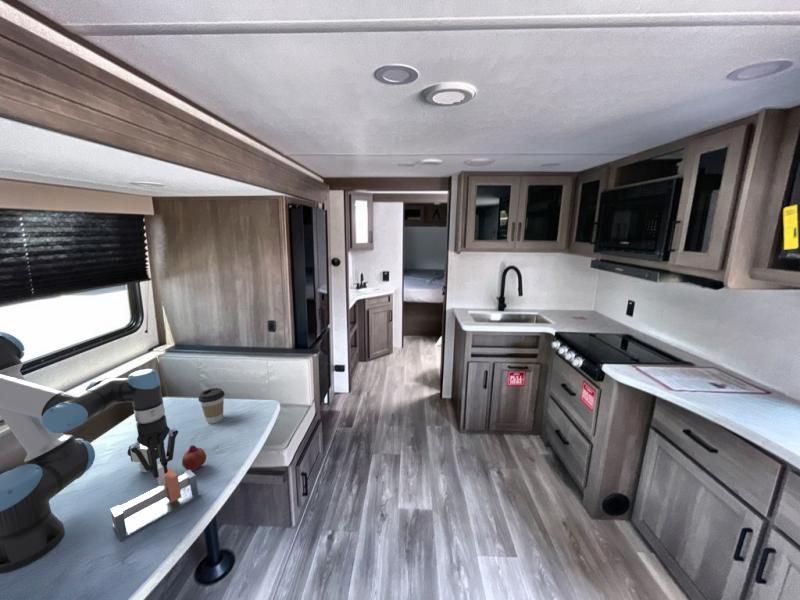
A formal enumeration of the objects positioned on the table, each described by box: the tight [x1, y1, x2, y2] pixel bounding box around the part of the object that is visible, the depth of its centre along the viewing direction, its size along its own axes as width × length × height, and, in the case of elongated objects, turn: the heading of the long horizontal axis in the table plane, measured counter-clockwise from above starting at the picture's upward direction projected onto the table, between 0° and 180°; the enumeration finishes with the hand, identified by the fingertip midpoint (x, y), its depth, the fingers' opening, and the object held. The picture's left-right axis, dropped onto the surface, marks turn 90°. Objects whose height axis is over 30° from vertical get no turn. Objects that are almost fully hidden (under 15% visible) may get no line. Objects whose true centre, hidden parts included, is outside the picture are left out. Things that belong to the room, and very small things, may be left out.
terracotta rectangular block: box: [165, 467, 181, 503], centre depth 112 cm, size 3×6×8 cm, turn 52°
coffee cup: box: [198, 387, 226, 425], centre depth 164 cm, size 11×11×15 cm
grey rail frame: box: [110, 470, 202, 543], centre depth 109 cm, size 22×9×8 cm, turn 142°
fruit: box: [181, 444, 207, 472], centre depth 129 cm, size 8×8×10 cm
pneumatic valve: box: [127, 442, 160, 473], centre depth 129 cm, size 6×12×12 cm, turn 78°
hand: (162, 483), depth 110 cm, fingers closed
